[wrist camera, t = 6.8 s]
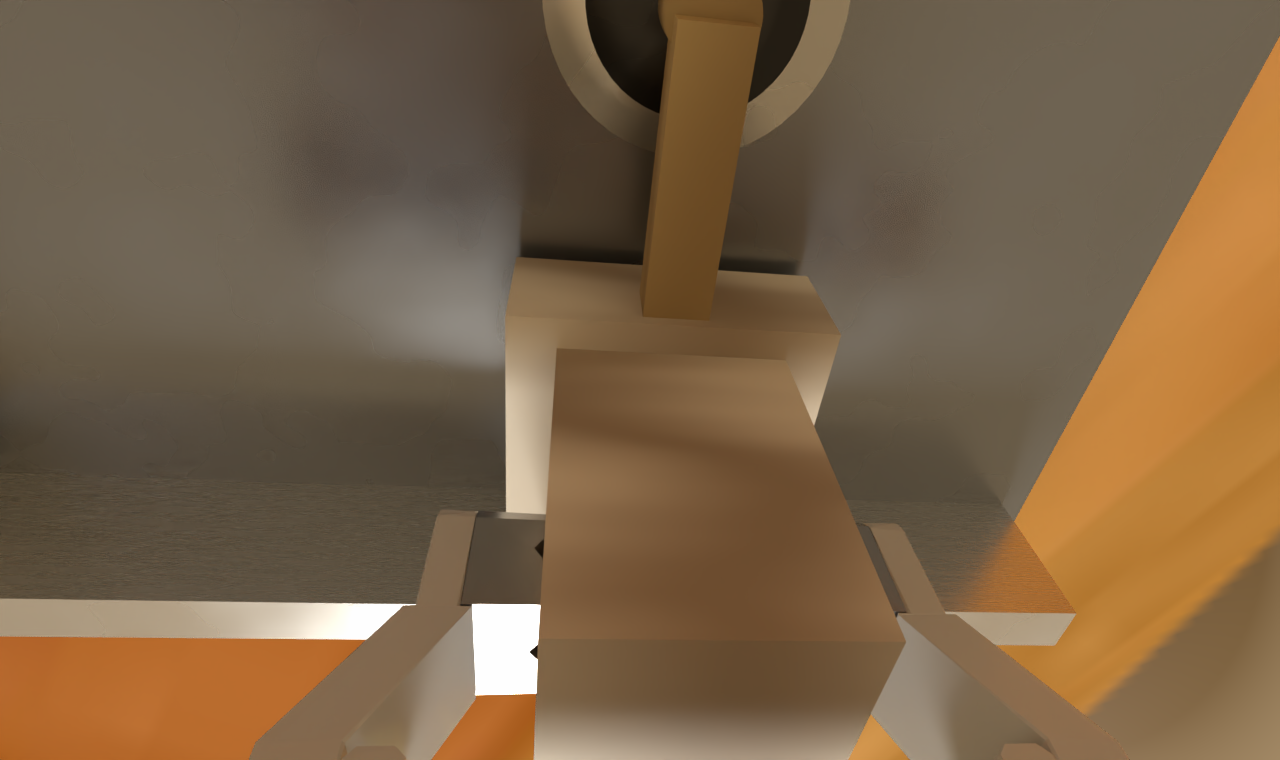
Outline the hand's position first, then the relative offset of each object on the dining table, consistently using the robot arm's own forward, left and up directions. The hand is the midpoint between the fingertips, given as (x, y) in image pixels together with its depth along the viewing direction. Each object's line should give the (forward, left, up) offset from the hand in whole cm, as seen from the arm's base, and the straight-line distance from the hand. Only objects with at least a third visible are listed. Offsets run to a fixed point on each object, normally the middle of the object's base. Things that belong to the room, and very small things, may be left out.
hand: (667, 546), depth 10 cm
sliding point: (-2, +1, -4) cm, 5 cm away
